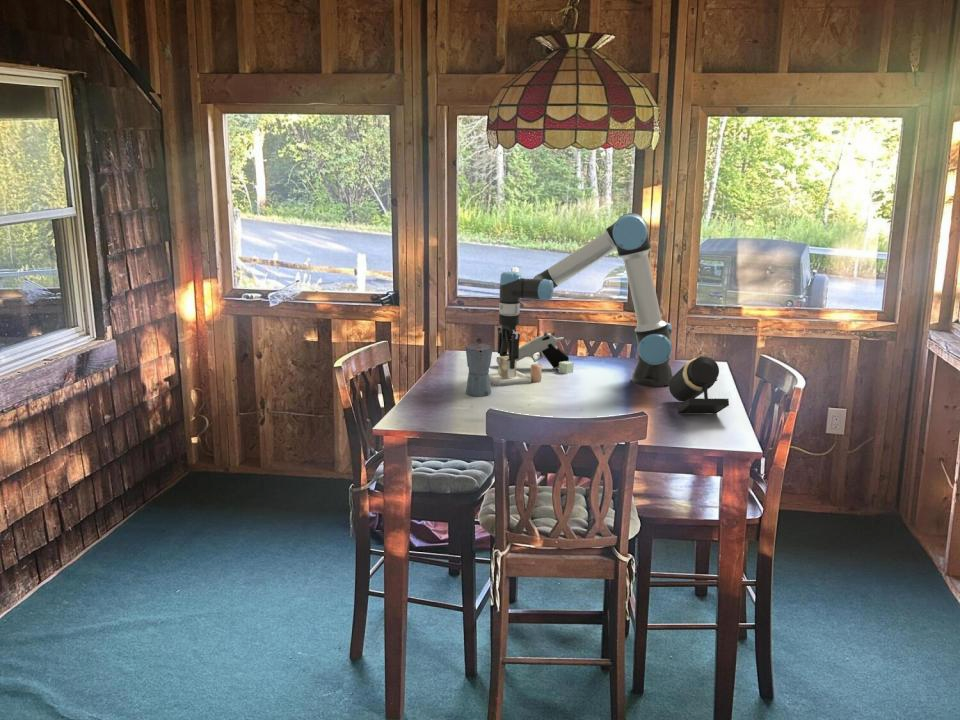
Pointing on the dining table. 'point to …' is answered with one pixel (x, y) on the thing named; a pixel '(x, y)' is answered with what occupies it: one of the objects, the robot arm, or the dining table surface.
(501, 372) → the birch block
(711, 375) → the light fixture
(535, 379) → the peach capsule
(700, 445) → the dining table surface
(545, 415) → the dining table surface
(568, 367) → the sage block
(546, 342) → the handgun
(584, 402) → the dining table surface
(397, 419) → the dining table surface
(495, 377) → the tray
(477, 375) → the moka pot
